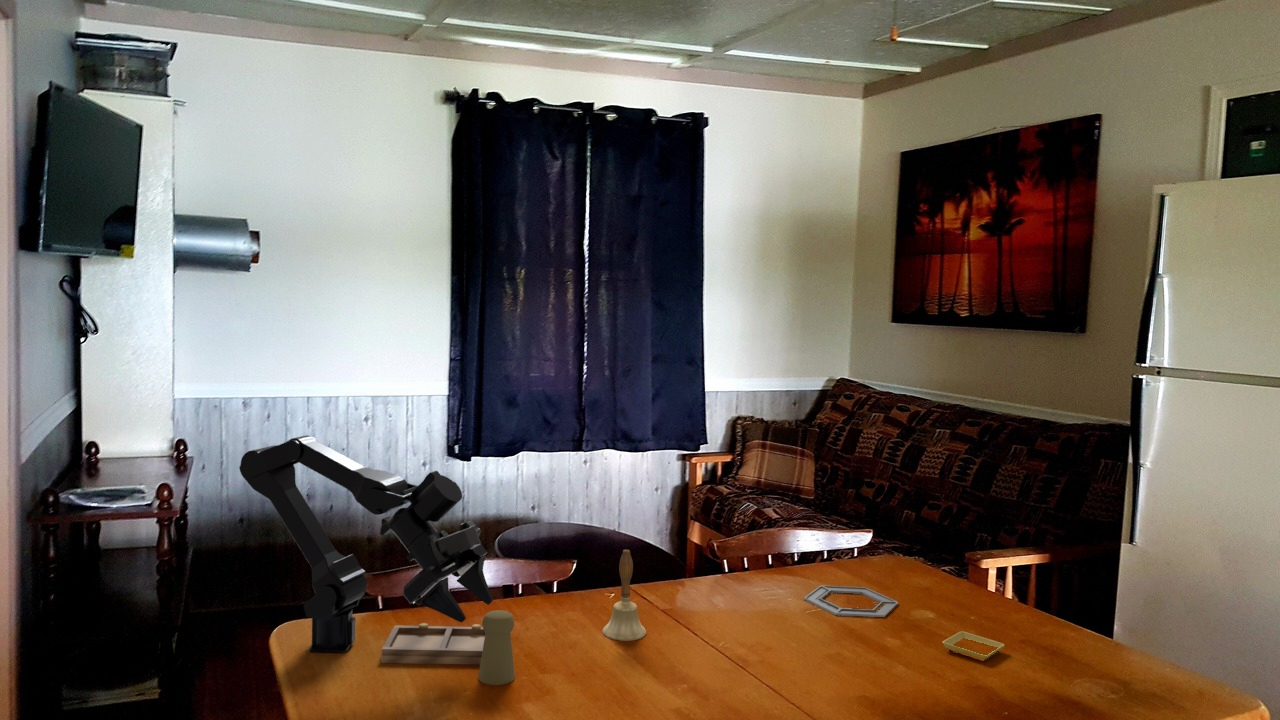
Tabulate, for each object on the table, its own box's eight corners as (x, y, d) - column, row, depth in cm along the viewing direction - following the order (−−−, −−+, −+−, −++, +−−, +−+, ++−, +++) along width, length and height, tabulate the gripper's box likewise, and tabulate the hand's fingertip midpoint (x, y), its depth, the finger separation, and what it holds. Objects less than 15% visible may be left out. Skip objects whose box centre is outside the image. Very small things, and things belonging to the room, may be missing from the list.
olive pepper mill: (507, 687, 154) (509, 621, 153) (472, 682, 155) (474, 616, 154) (520, 672, 160) (522, 608, 159) (485, 667, 161) (487, 604, 160)
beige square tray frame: (1005, 654, 178) (1006, 643, 177) (985, 666, 171) (986, 655, 171) (960, 641, 184) (961, 630, 183) (940, 652, 177) (941, 641, 177)
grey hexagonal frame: (908, 620, 193) (909, 616, 193) (810, 615, 194) (810, 611, 194) (888, 592, 211) (888, 588, 211) (797, 588, 211) (798, 584, 211)
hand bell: (628, 644, 174) (631, 559, 172) (593, 633, 179) (596, 550, 177) (655, 632, 180) (658, 550, 179) (620, 621, 185) (624, 541, 184)
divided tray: (380, 662, 161) (381, 647, 161) (395, 636, 173) (395, 622, 173) (499, 664, 162) (499, 650, 162) (505, 638, 174) (505, 624, 174)
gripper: (420, 521, 149) (482, 600, 147) (478, 497, 167) (533, 567, 164) (377, 564, 152) (436, 641, 150) (438, 536, 170) (492, 605, 167)
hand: (477, 611), depth 158 cm, fingers open, 9 cm apart
